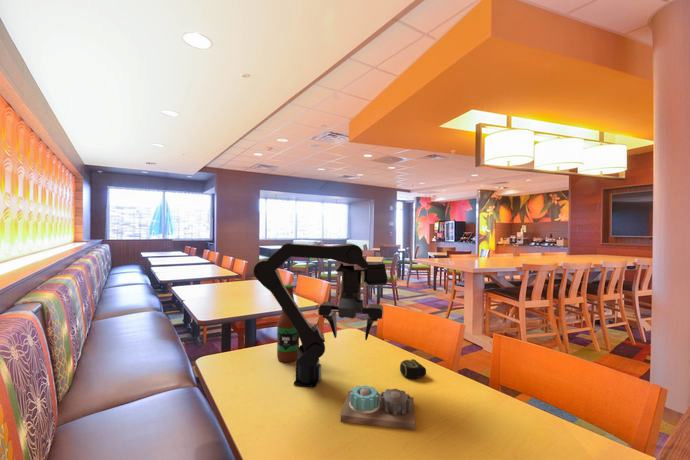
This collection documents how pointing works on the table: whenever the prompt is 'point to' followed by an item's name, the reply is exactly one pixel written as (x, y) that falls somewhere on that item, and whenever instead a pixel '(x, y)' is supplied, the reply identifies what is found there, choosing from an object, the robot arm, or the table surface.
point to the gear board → (383, 410)
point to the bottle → (287, 336)
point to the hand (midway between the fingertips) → (350, 338)
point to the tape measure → (412, 369)
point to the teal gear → (364, 398)
